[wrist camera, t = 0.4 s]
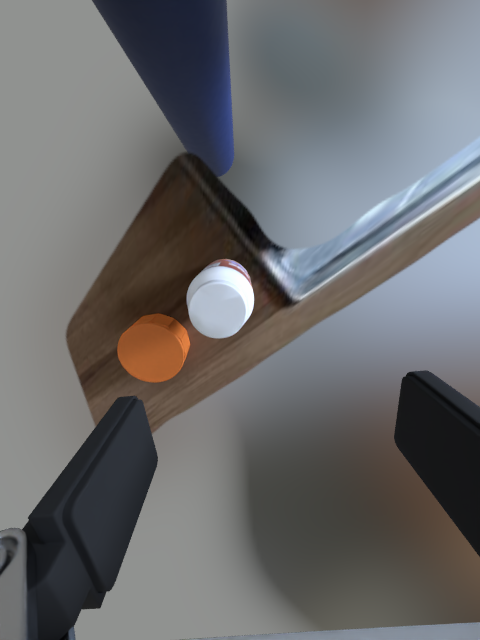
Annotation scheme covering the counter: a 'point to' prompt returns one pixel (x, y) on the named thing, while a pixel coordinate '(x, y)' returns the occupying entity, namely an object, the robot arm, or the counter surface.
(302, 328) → the counter surface
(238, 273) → the pill bottle
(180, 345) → the cap
